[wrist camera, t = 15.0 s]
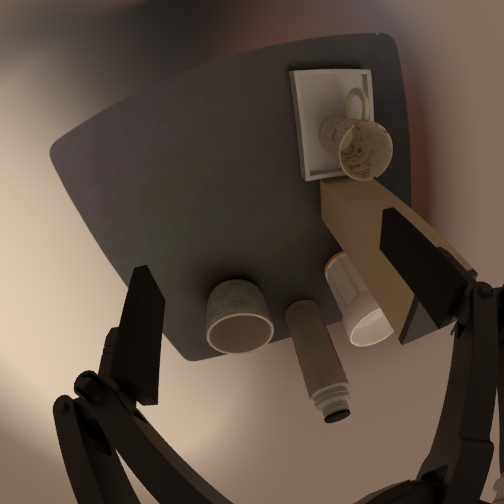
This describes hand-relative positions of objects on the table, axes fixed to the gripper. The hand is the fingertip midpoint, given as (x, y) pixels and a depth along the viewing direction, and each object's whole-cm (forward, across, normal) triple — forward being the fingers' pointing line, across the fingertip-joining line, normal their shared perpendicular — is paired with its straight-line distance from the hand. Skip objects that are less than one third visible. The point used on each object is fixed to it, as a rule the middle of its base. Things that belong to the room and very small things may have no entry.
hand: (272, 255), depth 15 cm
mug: (+30, +17, 0) cm, 34 cm away
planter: (+31, -6, -32) cm, 45 cm away
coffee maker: (+31, +16, -5) cm, 35 cm away
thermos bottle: (+31, +8, -42) cm, 53 cm away
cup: (+31, +18, -31) cm, 47 cm away
